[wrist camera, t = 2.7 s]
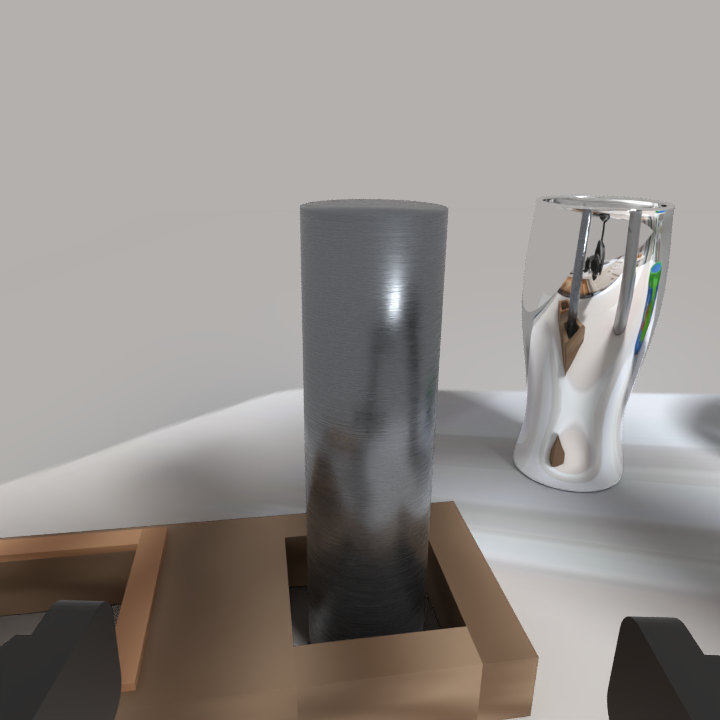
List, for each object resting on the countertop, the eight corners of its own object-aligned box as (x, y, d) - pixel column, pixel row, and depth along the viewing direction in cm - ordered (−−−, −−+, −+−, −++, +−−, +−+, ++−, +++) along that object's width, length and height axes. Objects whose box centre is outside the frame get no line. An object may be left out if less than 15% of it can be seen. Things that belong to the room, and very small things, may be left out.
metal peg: (408, 586, 26) (426, 199, 21) (436, 669, 22) (468, 215, 17) (304, 597, 26) (295, 199, 20) (313, 685, 22) (306, 216, 16)
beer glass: (646, 462, 37) (697, 201, 32) (603, 513, 32) (654, 213, 27) (536, 427, 41) (565, 192, 36) (483, 467, 36) (507, 200, 31)
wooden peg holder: (449, 547, 29) (453, 495, 28) (530, 715, 21) (539, 649, 20) (-42, 593, 26) (-56, 536, 25) (-182, 815, 17) (-213, 742, 16)
